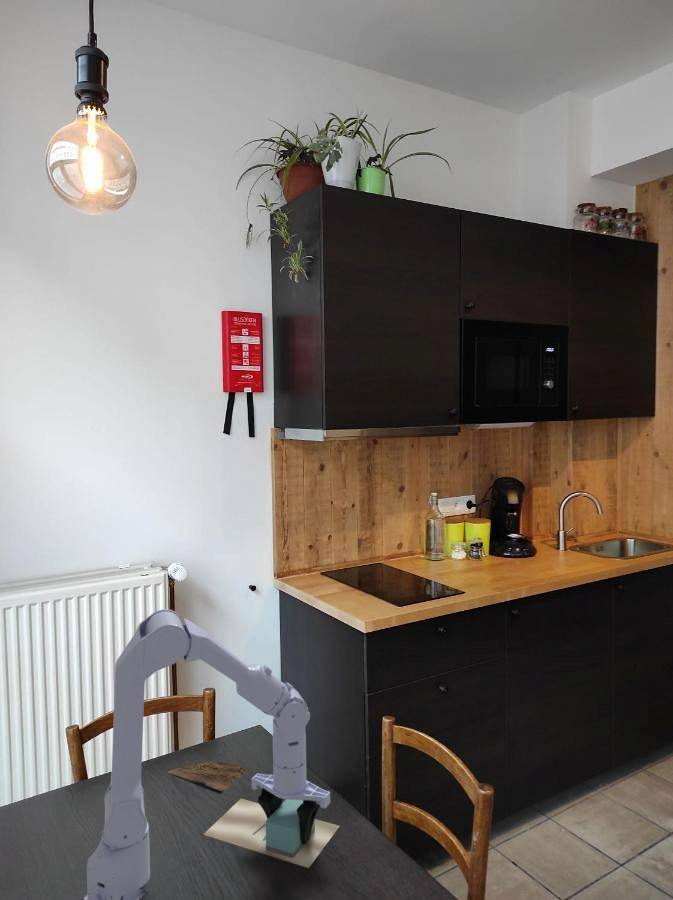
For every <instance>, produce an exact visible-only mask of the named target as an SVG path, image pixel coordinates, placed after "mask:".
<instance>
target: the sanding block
mask: <svg viewBox="0 0 673 900" xmlns="http://www.w3.org/2000/svg"><path fill="white" fill-rule="evenodd" d="M302 803H303V800H290V799H284V801H282V804H281V805H280V807H279V808H278V809H277V810H276V811H275V812H274V813H273V814H272V815H271V816H270V817H269V818H268V819H267V820H266V850H268V851H271V852H274V853H277V854H281V855H284V856H287V857H290V858H294V856H295V855H296V854H297V853H298V851H299V850H300V849H301V848H302V846H303V845H304V844H301V838H300V822H299V817H298V814H297V808H298V807H299V806H300V805H301V804H302ZM315 819H316V818H315ZM315 819H314V822H313V826H312V830H311V835H312V834H313V833H314V831H315Z"/></svg>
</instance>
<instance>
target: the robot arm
mask: <svg viewBox="0 0 673 900" xmlns="http://www.w3.org/2000/svg"><path fill="white" fill-rule="evenodd" d="M183 620H184V623H185V624H184V623H183ZM182 659H183V660H184V663H191V662H195V661H199V660H201V661H203V663H205V664H207V665H208V666H210V667H212V668H213V669H214V670H215V671H217V672H219V673H221V674H223V676H225V677H227V678H228V679H230V680H231V681H232V682H234V683H235V687H236V688H235V689H236V694H237V695H239V696H240V697H241V698H243V699H244V700H245V701H247V703H249V704H251V705H253V706H254V707H256V709H258V710H260V712H262V713H263V714H265V715H267V716H271V717H273V719H272V766H273V767H272V774H264V773H258V772H257V773H256V774H255V775H254V776H253V777H251V790H255V791H258V790H261V792H260V795H259V796H258V797H257V803H259V804H260V806H261V807H262V809H263V810H264V812H265V814H266V817H267V819H268V818H269V817H270V816H271V815H272V814H273V813H274V812H275V811H276V810H277V809H278V808H279V807H280V805H281V804H282V803H283V800H286V799H290V800H303V803H302V804H301V805H300V806H299V807H298V808H297V814H298V817H299V822H300V838H301V844H304V845H305V844H306V843H307V842H308V840H309V839H310V836H311V830H312V826H313V822H314V819H316V816H317V813H318V811H319V808H322V809H325V810H326V809H327V807H328V806H329V805H330V804H331V791H329V790H325V789H323V788H321V787H319V786H318V785H316V784H314V783H312V782H311V781H308V780H307V779H308V778H307V735H306V726H307V725H308V723H309V721H310V719H311V712H310V711H309V707H308V704H307V703H306V701H305V700H304V699H303V697H302V696H301V694H300V693H299V691H298V690H297V689H295V687H294V685H292V684H291V683H289V682H285V683H284V682H282V681H281V680H280V679H279V678H278V677H276V676H275V675H273V670H272V668H270V667H269V666H268V665H267V664H264V666H262V665H260V664H259V663H254V664H246V663H245V662H244V661H242V660H241V659H240V658H239V657H237V656H236V655H234V654H233V653H232V652H231V651H229V650H228V649H227V648H226V647H224V645H222V644H221V643H220V642H218V641H217V640H216V639H215V638H213V637H212V636H211V635H210V634H209V633H207V632H206V631H205V630H204V629H202V628H201V627H199V626H198V625H196V623H193V622H192V621H191V620H189V619H187V618H185V617H183V619H182V618H181V616H180V614H178V612H176V611H174V610H173V609H166V608H164V609H159V610H156V611H154V612H152V613H151V614H150V615H148V616H147V617H145V619H143V620H142V621H141V622H140V623H139V624H138V626H137V629H136V630H135V633H134V634H133V635H132V637H131V638H130V640H129V642H128V643H127V645H126V646H125V647H124V650H123V651H122V652H121V654H120V655H119V656H118V658H117V660H116V661H115V662H116V663H115V667H114V670H115V671H114V694H113V695H114V697H113V698H114V699H113V701H114V702H113V720H112V721H113V724H112V725H113V726H112V727H113V728H112V729H113V730H112V755H111V773H110V783H109V786H108V788H107V790H106V791H105V793H104V797H103V799H104V800H103V803H104V827H103V829H102V830H101V839H100V841H99V844H98V845H97V848H96V849H95V851H93V853H92V854H91V855H90V856H89V858H88V859H87V862H86V887H87V888H86V890H87V894H86V895H85V896H84V897H83V900H141V899H142V898H143V897H144V896H145V895H147V893H148V891H147V890H145V889H142V888H143V887H144V886H145V885H146V884H147V883H148V882H149V880H150V878H151V856H150V853H151V852H150V825H149V822H148V821H147V816H146V813H145V812H146V811H145V802H144V801H145V800H144V798H145V790H144V788H143V786H142V766H143V765H142V763H143V762H142V761H143V760H142V759H143V737H144V733H143V732H144V712H145V711H144V710H145V709H144V708H145V686H146V685H145V684H146V683H145V681H146V680H147V679H148V678H150V677H151V676H152V675H153V674H154V673H156V672H158V671H160V670H162V669H165V668H167V667H169V666H172V665H175V664H176V663H178V662H179V661H181V660H182Z"/></svg>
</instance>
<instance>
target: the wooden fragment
mask: <svg viewBox="0 0 673 900" xmlns="http://www.w3.org/2000/svg"><path fill="white" fill-rule="evenodd" d="M248 770H249V768H246V767H244V766H240V765H239V764H238V763H237V762H232V761H225V762H213V761H208V762H199V763H196V764H193V765H188V766H186V767H180V768H174V769H170V770H169V771H167V773H168V774H170V775H173V776H177V777H180V778H183V779H185V780H188V781H191V782H194V783H199V784H201V785H204V786H207V787H209V788H211V789H215V790H218V791H220V792H222V793H224V792H225V791H226V790H227V789H229V788H230V786H232V784H233V783H235V782H236V781H237V780H238V779H239V778H241V777H242V776H243V775H244V774H245V773H246V772H247V771H248Z"/></svg>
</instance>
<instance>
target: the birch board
mask: <svg viewBox="0 0 673 900" xmlns="http://www.w3.org/2000/svg"><path fill="white" fill-rule="evenodd" d="M266 820H267V817H266V814H265V812H264V810H263V809H262V807H261V806H260V804H259V803H258V802H254V801H253V800H247V799H244V798H240V799H239V800H237V802H236V803H234V805H232V806H231V808H229V809H228V810H227V811H226V812H225V813H224V814H223V815H222V816H221V817H220V818H219V819H218V820H217V821H216V822H215V823H214V824H213V825H212V826H210V828H208V829H207V830H206V831H205V832H204V833H203V834H202V835H203V836H206V837H209V838H212V839H214V840H215V839H216V840H218V841H220V842H221V841H222V842H224V843H227V844H231V845H234V846H237V847H241V848H243V849H247V850H250V851H252V852H257V853H259V854H263V855H266V856H269V857H272V858H276V859H279V860H282V861H284V862H288V863H291V864H294V865H298V866H301V867H305V868H307V869H309V868H310V867H311V865H312V864H313V863H314V862H315V860H316V859H317V857H318V856H319V855H320V854H321V852H322V851H323V849H324V848H325V847H326V845H327V844H328V843H329V841H330V840H331V838H332V837H333V836H334V835H335V833H336V832H337V831H338V830H339V828H340V827H341V826H340V825H337V824H335V823H330V822H327V821H324V820H319V819H316V818H315V831H314V833H313V834H312V835H311V836H310V839H309V840H308V842H307V843H306V844H305V845H303V846H302V848H301V849H300V850H299V851H298V853H297V854H296V855H295V856H294V858H290V857H287V856H284V855H281V854H277V853H274V852H271V851H268V850H266Z"/></svg>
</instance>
